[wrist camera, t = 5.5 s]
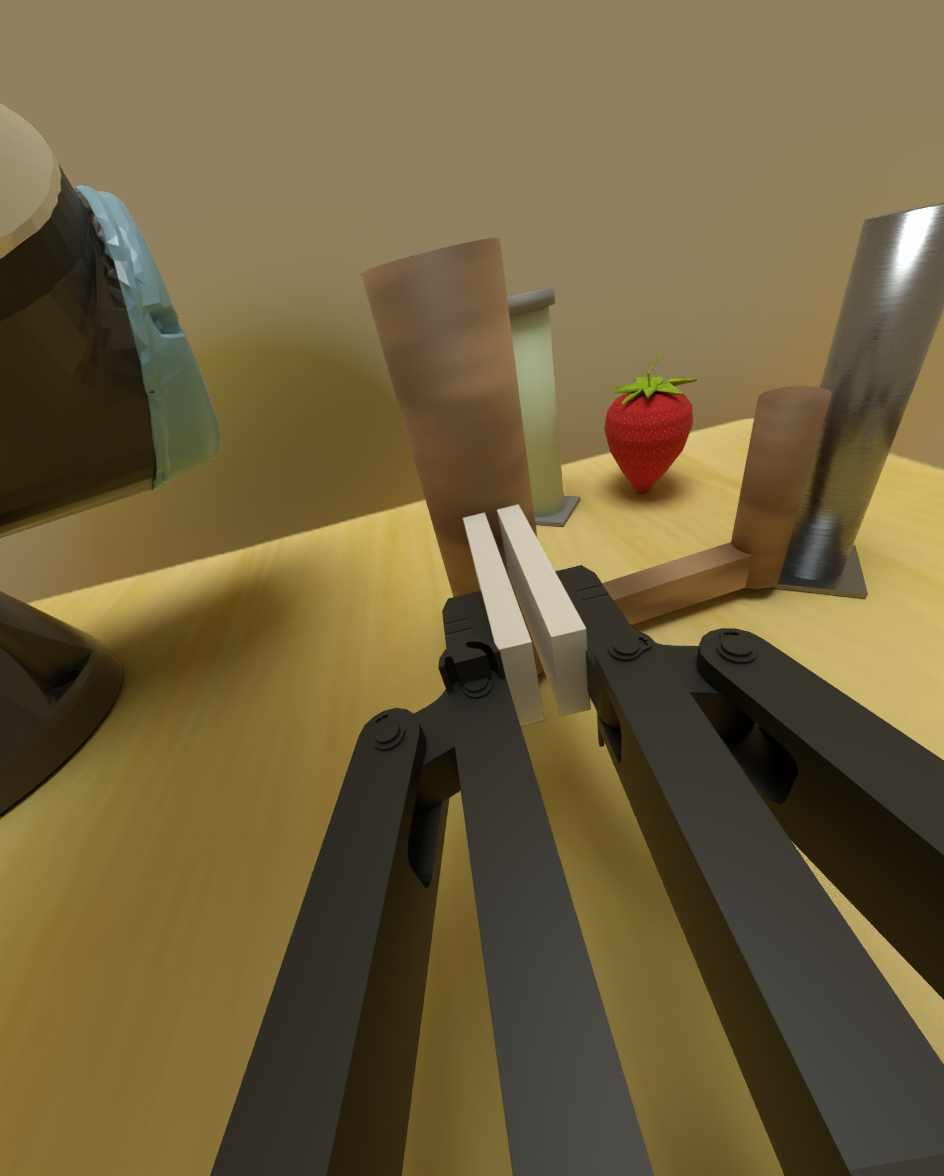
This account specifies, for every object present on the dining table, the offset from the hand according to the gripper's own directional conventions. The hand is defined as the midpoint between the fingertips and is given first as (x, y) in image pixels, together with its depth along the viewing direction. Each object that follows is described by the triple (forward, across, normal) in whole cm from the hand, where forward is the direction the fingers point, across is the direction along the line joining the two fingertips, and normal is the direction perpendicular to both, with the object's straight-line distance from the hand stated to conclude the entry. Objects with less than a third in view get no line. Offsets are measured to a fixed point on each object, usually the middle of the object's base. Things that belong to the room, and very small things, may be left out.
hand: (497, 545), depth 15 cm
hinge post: (+4, +17, -8) cm, 19 cm away
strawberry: (+17, +14, -9) cm, 24 cm away
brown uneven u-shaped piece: (+3, +6, -8) cm, 10 cm away
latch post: (+18, +6, -8) cm, 21 cm away
